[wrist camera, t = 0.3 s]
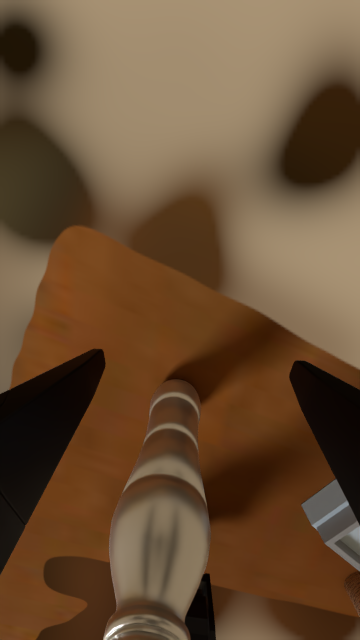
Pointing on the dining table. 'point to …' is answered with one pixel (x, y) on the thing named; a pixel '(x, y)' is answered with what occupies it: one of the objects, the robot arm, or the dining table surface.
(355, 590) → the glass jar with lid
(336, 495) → the square tray with knobs
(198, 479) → the plastic bottle
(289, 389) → the dining table surface
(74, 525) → the dining table surface
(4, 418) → the robot arm
